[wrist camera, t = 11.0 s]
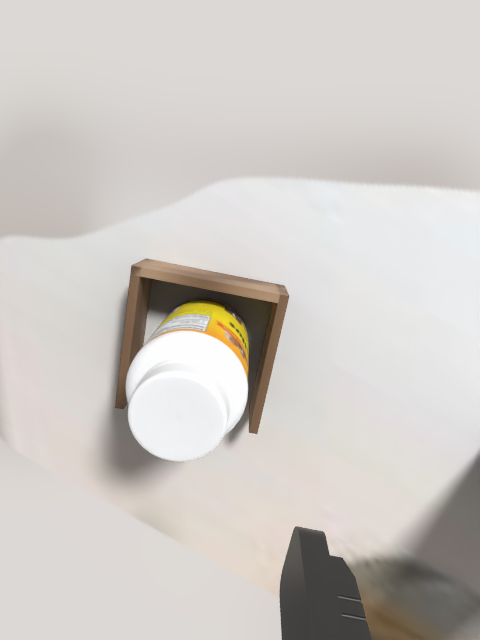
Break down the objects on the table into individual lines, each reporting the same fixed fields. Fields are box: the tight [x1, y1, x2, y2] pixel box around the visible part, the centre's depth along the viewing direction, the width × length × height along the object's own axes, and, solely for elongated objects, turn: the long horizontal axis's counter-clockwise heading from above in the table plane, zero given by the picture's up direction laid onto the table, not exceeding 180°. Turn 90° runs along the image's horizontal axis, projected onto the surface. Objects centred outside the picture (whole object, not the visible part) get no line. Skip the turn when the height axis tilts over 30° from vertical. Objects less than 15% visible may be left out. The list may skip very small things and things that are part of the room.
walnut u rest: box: [115, 259, 289, 434], centre depth 24 cm, size 9×9×3 cm
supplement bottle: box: [126, 298, 249, 462], centre depth 20 cm, size 6×6×10 cm
